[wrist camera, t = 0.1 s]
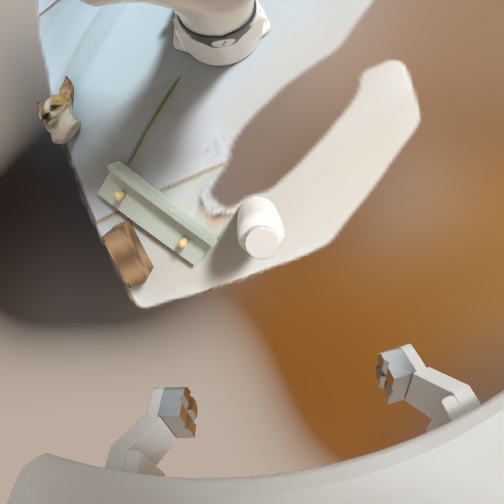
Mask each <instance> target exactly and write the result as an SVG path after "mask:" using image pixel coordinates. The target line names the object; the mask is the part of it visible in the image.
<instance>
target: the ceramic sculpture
mask: <svg viewBox="0 0 504 504" xmlns="http://www.w3.org/2000/svg"><path fill="white" fill-rule="evenodd" d="M73 95H74V87H73V85H72V82H71V81H70V80H69V79H68V77H67V76H65V80H64V83H63V85H62V86H61V88H60V94H59V95H54V96H51V97H50V98H48V99H47V100H46V101H45V102H39V101H38V102H37V104H38V106H39V118H40V121H41V122H43V123H44V126H45V128H46V129H47V131H49V133H50V134H51V137H52V141H53V143H57V144H64V143H67V142H68V141H69V140H71V139H72V137H73V136H74V135H75V134H76V133H77V131H78V130H79V129H80V127H81V123H80V121H78V120H77V119H76V118H75V116H74V112H73V107H72V100H73Z"/></svg>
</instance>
